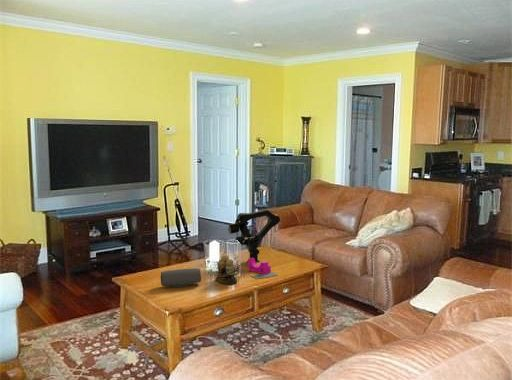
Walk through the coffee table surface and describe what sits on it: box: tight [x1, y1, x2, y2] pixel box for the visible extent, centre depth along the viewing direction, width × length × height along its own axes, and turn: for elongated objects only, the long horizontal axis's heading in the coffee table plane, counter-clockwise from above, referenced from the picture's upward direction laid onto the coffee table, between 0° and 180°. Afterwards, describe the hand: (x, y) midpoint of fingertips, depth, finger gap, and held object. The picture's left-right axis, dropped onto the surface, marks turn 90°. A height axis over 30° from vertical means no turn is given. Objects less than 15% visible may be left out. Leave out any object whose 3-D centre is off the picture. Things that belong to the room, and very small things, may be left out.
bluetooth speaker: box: [160, 268, 202, 288], centre depth 266 cm, size 23×9×10 cm, turn 110°
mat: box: [251, 271, 279, 280], centre depth 288 cm, size 7×16×1 cm, turn 120°
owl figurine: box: [215, 254, 238, 286], centre depth 276 cm, size 18×12×17 cm, turn 35°
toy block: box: [247, 257, 272, 274], centre depth 297 cm, size 15×6×8 cm, turn 43°
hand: (252, 249), depth 305 cm, fingers closed
